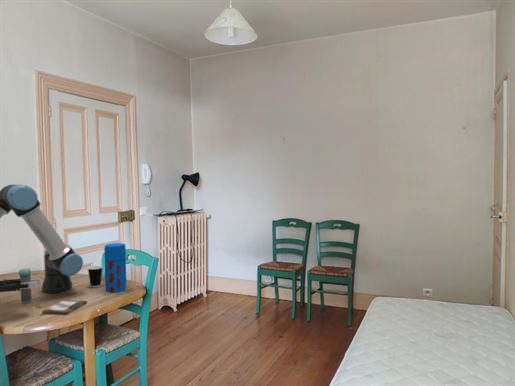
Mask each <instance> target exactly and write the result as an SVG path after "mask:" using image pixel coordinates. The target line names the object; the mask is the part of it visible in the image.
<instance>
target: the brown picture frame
mask: <svg viewBox="0 0 515 386" xmlns="http://www.w3.org/2000/svg"><path fill="white" fill-rule="evenodd" d="M87 303H88V301H87V300H78V299H77V300H75V299H73V300H71V299H64V300H62V301H60V302H58V303H55V304H54V305H51V306H49V307H48V308H46V309H44V310H42V312H41V313H42V314H43V315H56V316H57V315H58V316H59V315H61V316H64V315H65V316H67V315H69V314H71V313H73V312H74V311H76V310H78V309H79V308H81V307H84V306H85V305H86V304H87Z"/></svg>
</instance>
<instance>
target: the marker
mask: <svg viewBox="0 0 515 386" xmlns="http://www.w3.org/2000/svg"><path fill="white" fill-rule="evenodd" d="M31 273H32V271H31V268H24V269H23V268H22V269H19V270H18V275H19V279H20V284H21V283H22V282H31V279H32V278H31ZM20 299H21V304H22V305H27V304H31V303H32V288H28V289H21V288H20Z"/></svg>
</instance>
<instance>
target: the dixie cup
mask: <svg viewBox="0 0 515 386" xmlns="http://www.w3.org/2000/svg"><path fill="white" fill-rule="evenodd" d="M87 271H88V276H89V283H90V284H89V285H90V287H91V288H92V287H93V288H94V287H95V288H99V286H100V287H101V284H102V275H103V273H102V272H103V265H92V266H89V267H87ZM95 288H94V289H95Z"/></svg>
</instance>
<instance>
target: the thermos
mask: <svg viewBox="0 0 515 386" xmlns="http://www.w3.org/2000/svg"><path fill="white" fill-rule="evenodd" d="M126 248H127V247H126V244H125V243H122V242H114V243H107V244H105V245H104V249H103V250H104V282H105V283H104V285H105V292H106V293H109V292H110V293H111V294H113V293H115V292H116V293H122V292H124V291H125V289H127V258H126V256H127V255H126V254H127V253H126V252H127V251H126V250H127V249H126ZM110 293H109V294H110Z"/></svg>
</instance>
